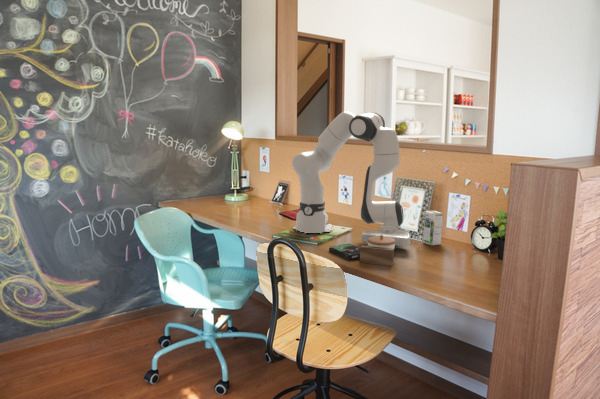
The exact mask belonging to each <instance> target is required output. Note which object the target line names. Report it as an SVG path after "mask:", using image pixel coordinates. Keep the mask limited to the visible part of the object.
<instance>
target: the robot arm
mask: <svg viewBox="0 0 600 399" xmlns="http://www.w3.org/2000/svg"><path fill="white" fill-rule="evenodd" d="M385 124H386V122H385V119H384V117H383V116H382V114H381V115H380V114H379V113H377V112H365V113H360V114H357V115H355V114H354V113H352V112H351V111H345V110H344V111H342V112H341V113H339V114H338V115H337V116H335V118H334V119H333V120H332V121H331V122H330V123H329V124H328V125H327V127H326V128H325V129H324V130H323V132H321V134H320V135H319V136H318V139H317V141H318V142H317V144H316V146H315V148H314V149H311V150H309V151H302V152H299V153H297V154H296V155H294V157H293V158H292V162H291V167H292V170H293V171H294V172H295V173H296V175H297V177H298V180H299V185H300V202H299V205H298V206H299V209H300V211H299V212H298V213H297V218H296V220H295V226H293V227H292V229H293V230H294V229H296V230H295V231H297V230H298V231H300V232H307V233H320V234H323V233H322V232H330V230H331V231H332V228H333V224H331V223H329V222H328V221H329V214H327V212H326V211H325V210H326V208H325V206H326V202H325V201H324V196H325V195H324V194H325V192H324V190H325V188H324V185H323V184H322V182H321V180H320V174H322V173H326V172H327V171H328V170H329V169H331V167H332V165H333V160H334V158H335V157H336V155H337V153H338V152H339V151H340V150H341V148H343V146H344V145H345V144H346V143H347V142H348V140H349V139H350V138H351V137H352V136H353V137H354V138H355V139H358V140H360V141H361V140H362V141H366V142H371V143H372V145H373V160H372V163H371V165H369V166H367V169H366V173H365V180H364V186H363V196H362V204H361V208H360V218H361V220H363V222H364V223H366V224H370V225H371V224H377V223H379V224H380V223H381V224H382V223H383V224H382V225H381V226H380V228H379V229H378V230H377V231H376V230H365V231H363V232H361V235H360V241H361V242H362V243H368V238H369V237H372V236H380V235H383V236H386V237H391V238H393V239H395V246H401V247H410V242H411V234H410V233H409V230H408V229H407V228H402V224H403V223H404V209H403V206H402V204H401V203H400V202H399V201H397V200H385V201H383V200H382V201H377V200H376V201H375V200H373V198H374V197H373V196H374V189H375V183H376V181H377V180H379V179H380V178H382V177H384V176H388V175H389V174H391V173H393V172H394V171H396V170H397V168H398V167H399V165H400V160H401V159H400V158H401V157H400V156H401V155H400V154H401V153H400V143H399V138H398V133H397V132H396V130H395V129H393V128H391V127H386V125H385ZM298 231H297V232H298ZM300 232H299V233H300ZM330 233H331V232H330Z"/></svg>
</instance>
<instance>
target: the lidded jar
mask: <svg viewBox="0 0 600 399" xmlns="http://www.w3.org/2000/svg"><path fill="white" fill-rule="evenodd" d="M367 246H372V247H382V248H392V249H394V250H395V247H396V245H395V239H393V238H391V237H386V236H383V235H380V236H372V237H369V238H368V242H367Z"/></svg>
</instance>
